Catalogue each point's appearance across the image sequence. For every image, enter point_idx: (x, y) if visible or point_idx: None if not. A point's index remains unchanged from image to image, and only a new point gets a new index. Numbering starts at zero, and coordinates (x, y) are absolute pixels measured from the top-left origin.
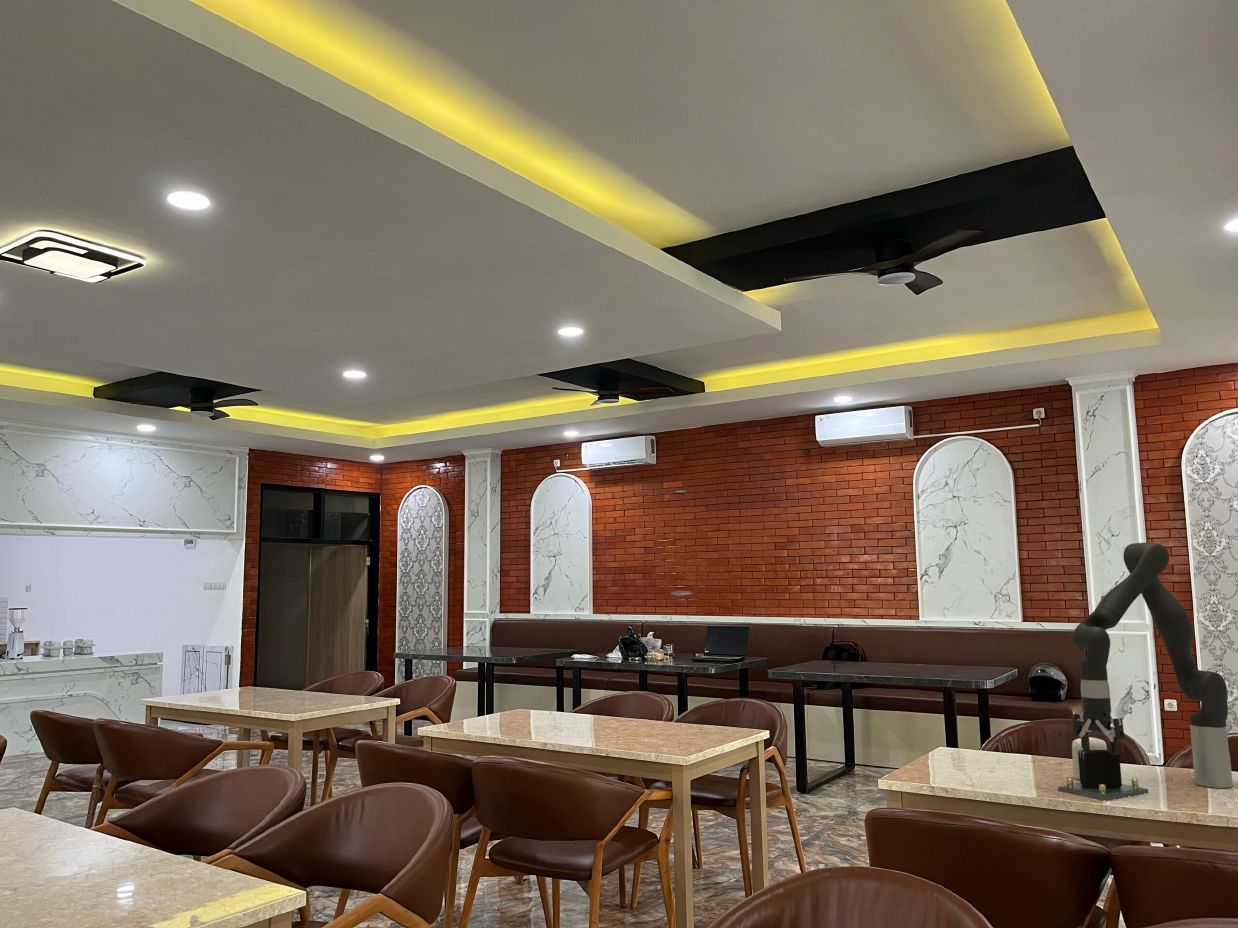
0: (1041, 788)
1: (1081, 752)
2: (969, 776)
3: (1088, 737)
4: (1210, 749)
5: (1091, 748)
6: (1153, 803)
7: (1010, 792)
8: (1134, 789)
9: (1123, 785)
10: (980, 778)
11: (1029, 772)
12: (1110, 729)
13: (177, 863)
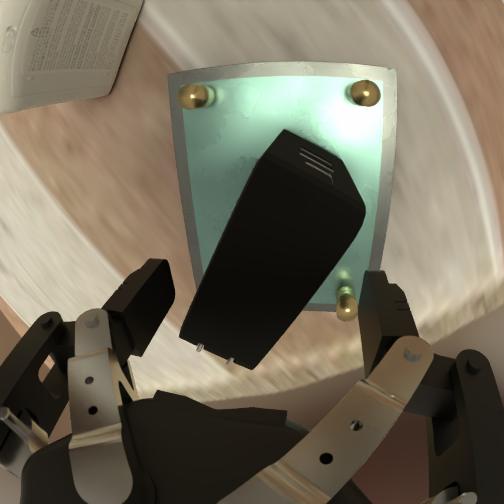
0: None
1: (209, 350)
2: (43, 304)
3: (124, 315)
4: None
5: (40, 42)
6: (470, 226)
7: (179, 374)
8: (382, 138)
9: (310, 100)
10: (57, 305)
11: (15, 156)
12: (347, 425)
13: None
